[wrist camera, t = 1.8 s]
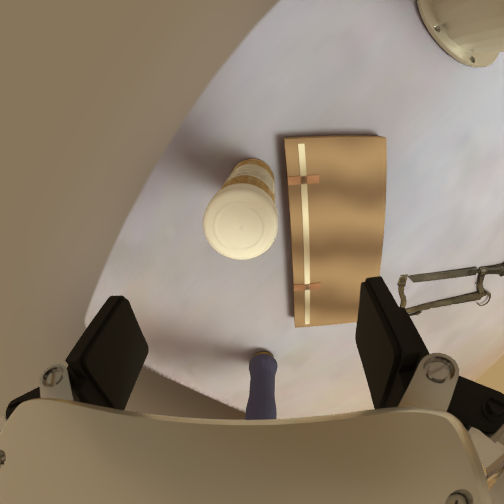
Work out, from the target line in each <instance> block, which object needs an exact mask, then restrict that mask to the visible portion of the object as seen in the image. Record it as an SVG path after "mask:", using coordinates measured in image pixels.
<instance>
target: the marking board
mask: <svg viewBox="0 0 504 504" xmlns="http://www.w3.org/2000/svg"><path fill="white" fill-rule="evenodd" d="M284 149H285V161H286V173H287V186H288V200H289V215H290V231H291V250H292V270H293V295H294V321H295V328H296V327H309V326H322V325H333V324H343V323H352V322H357V318H358V309H359V299H360V287H361V283H362V282H365V280H366V278H369V277H378V276H379V274H380V265H381V256H382V246H383V235H384V222H385V204H386V167H387V157H386V137H381V136H309V137H290V138H284Z"/></svg>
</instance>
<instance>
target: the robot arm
mask: <svg viewBox="0 0 504 504" xmlns="http://www.w3.org/2000/svg"><path fill="white" fill-rule="evenodd" d="M417 5H418V9H419V12H420V15H421V17H422V20H423V22H424V24H425V25H426V27H427V29H428V31H429V32H430V34H431V35H432V37H433V38H434V39H435V40H436V42H437V43H438V44H439V45H440V46H441V47H442V48H443V49H444V50H445V51H446V52H447V53H448V54H449V55H450V56H452V57H453V58H454V59H456V60H457V61H459V62H461V63H463V64H465V65H468V66H471V67H485V66H489V65H491V64H492V63H493V62H494V61H495V60H496V58H497V56H498V54H499V52H504V0H417ZM356 344H357V348H358V351H359V354H360V358H361V361H362V364H363V368H364V371H365V375H366V378H367V382H368V386H369V389H370V393H371V397H372V401H373V404H374V408H375V409H373V410H365V411H357V412H350V413H343V414H334V415H325V416H314V417H303V418H289V419H269V420H216V419H195V418H181V417H171V416H161V415H153V414H145V413H137V412H131V411H125V410H124V409H125V406H126V404H127V402H128V399H129V397H130V394H131V392H132V389H133V387H134V385H135V382H136V380H137V378H138V375H139V373H140V371H141V368H142V366H143V364H144V361H145V359H146V357H147V355H148V345H147V342H146V340H145V338H144V336H143V334H142V331H141V329H140V327H139V325H138V322H137V320H136V318H135V315H134V313H133V310H132V308H131V305H130V303H129V301H128V300H127V299H125V297H124V296H110V297H109V298H108V300H107V301H106V302H105V304H104V305H103V306H102V308H101V309H100V310H99V312H98V313H97V315H96V316H95V317H94V319H93V320H92V322H91V323H90V324H89V326H88V327H87V329H86V330H85V332H84V333H83V335H82V336H81V337H80V339H79V340H78V342H77V343H76V345H75V346H74V348H73V349H72V351H71V352H70V354H69V355H68V357H67V358H66V362H67V363H68V367H67V368H66V367H65V366H64V365H61V364H55V365H52V366H50V367H48V368H47V369H46V370H45V371H44V372H43V373H42V375H41V377H40V381H39V385H40V387H38V388H36V389H34V390H32V391H30V392H28V393H26V394H24V395H22V396H20V397H18V398H16V399H14V400H12V401H11V402H10V403H9V405H8V407H7V410H6V417H5V416H4V415H3V416H1V417H0V504H504V394H502V393H501V392H499V391H496V390H493V389H491V388H488V387H486V386H483V385H481V384H478V383H476V382H473V381H471V380H468V379H466V378H464V377H461V376H459V368H458V365H457V363H456V362H455V360H454V359H452V358H451V357H450V356H448V355H446V354H442V353H432V354H429V352H428V350H427V348H426V346H425V344H424V342H423V340H422V338H421V337H420V335H419V333H418V331H417V329H416V327H415V325H414V324H413V322H412V320H411V318H410V316H409V315H408V313H407V311H406V310H405V308H403V307H398V305H397V303H396V301H395V300H394V298H393V296H392V294H391V293H390V291H389V289H388V287H387V286H386V284H385V282H384V281H383V279H382V277H381V276H378V277H369V278H366V280H365V282H362V283H361V287H360V299H359V309H358V318H357V327H356ZM482 464H483V466H484V467H485V468H486V473H487V476H485V473H484V470H483V467H482Z"/></svg>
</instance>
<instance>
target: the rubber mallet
mask: <svg viewBox="0 0 504 504" xmlns="http://www.w3.org/2000/svg"><path fill="white" fill-rule="evenodd" d="M249 371H250V376H251V380H250V394H249V399H248V403H247V408H246V415H245V420H269V419H276V404H275V396H274V391H275V374H276V371H277V362H276V360H275V359H274V358H273V355H271V354H270V353H268V352H259V353H257V354H255V356H254V357H253V358H252V359H251V360H250V364H249Z"/></svg>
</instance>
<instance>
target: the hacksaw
mask: <svg viewBox="0 0 504 504" xmlns="http://www.w3.org/2000/svg"><path fill="white" fill-rule="evenodd" d="M476 273H479V279H478V284H477V288H478V292H477V293H474V294H468V295H464V296H463V295H462V296H458V297H453V298H449V299H444V300H438V301H433V302H429V303H425V304H421V305H418V306H414V307H411V308H407V309H405V310H406V311H407V313H411V314H408V315H409V316H412V315H418V314H420V313H421V311H422V310H426V309H430V308H435V307H436V308H437V307H441V306H447V305H451V304H459V303H464V302H469V301H475V300H480V299H481V298H482V297H483V296H486V295H489V300H490V298H491V294H490V293H489V292H485V291H484V288H483V280H484V276H485V275H486V274H499V275H500V276H504V263H503V264H500V265H495V266H488V267H486V266H485V267H480V268H479V270H477V268H470V269H464V270H455V271H446V272H436V273H427V274H418V275H411V276H408V274H407V275H400V276H402V277H400V278H399V282H398V284H397V285H399V288H398V290H399V295H400V298H401V304H400V307H403V308H405V306H406V296H405V295H404V292H403V291H404V286H405V284H406V280H407V276H408V277H409V278H410V279H411V280H412V281H413V282H422V281H431V280H440V279H448V278H456V277H463V276H471V275H476ZM475 284H476V283H475ZM489 300H488V302H489ZM488 302H487V303H488ZM487 303H485V304H487ZM477 304H478V303H477ZM485 304H484V305H485ZM478 305H479V304H478ZM479 306H483V305H479ZM412 312H415V313H412Z"/></svg>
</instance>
